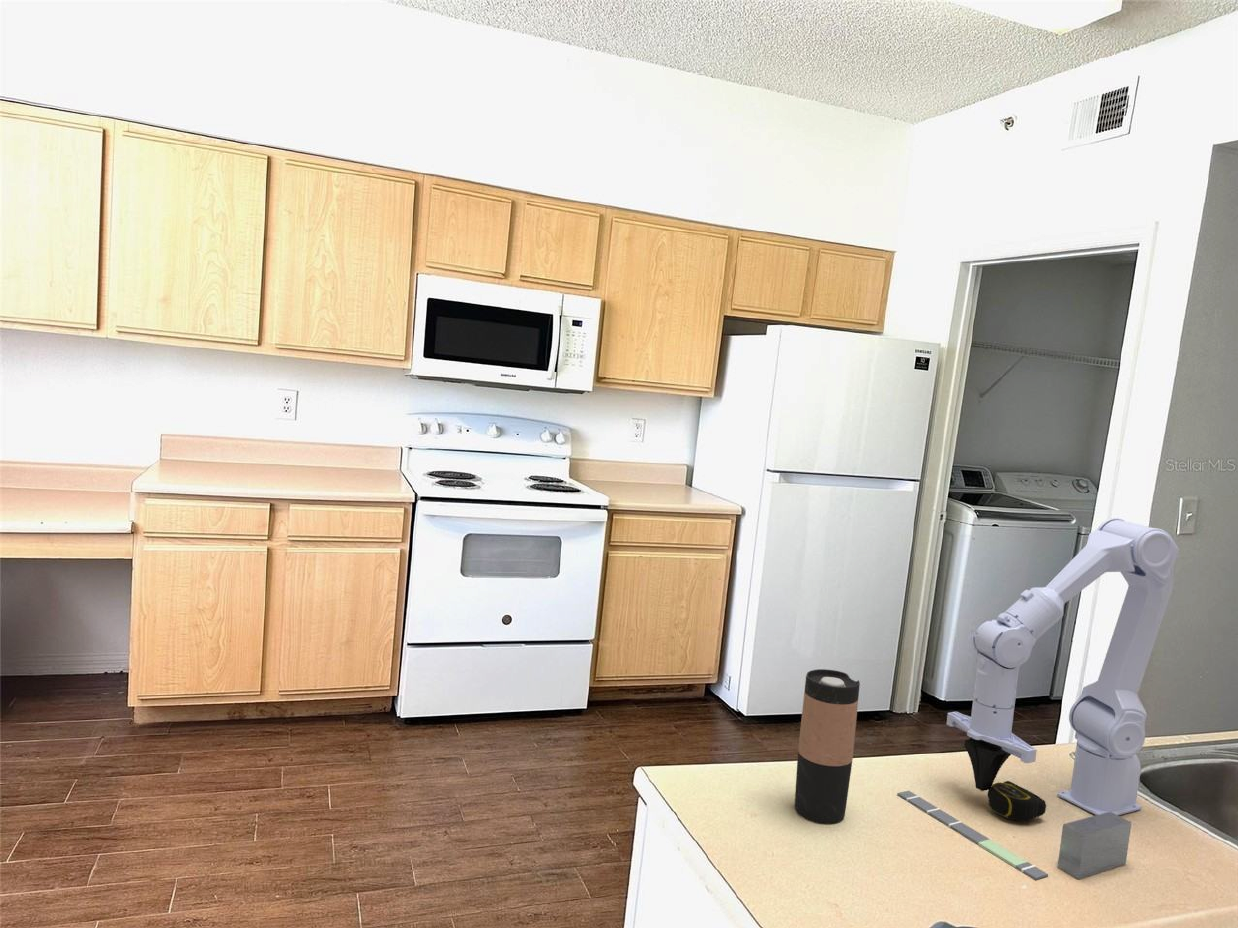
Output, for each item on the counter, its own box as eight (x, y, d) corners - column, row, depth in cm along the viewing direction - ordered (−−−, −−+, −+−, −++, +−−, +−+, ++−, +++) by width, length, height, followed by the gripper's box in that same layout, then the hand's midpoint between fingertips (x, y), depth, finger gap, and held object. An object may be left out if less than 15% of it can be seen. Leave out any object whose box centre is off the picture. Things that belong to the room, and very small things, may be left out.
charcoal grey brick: (1100, 850, 121) (1106, 809, 120) (1125, 864, 118) (1131, 821, 117) (1053, 864, 116) (1059, 822, 116) (1078, 879, 113) (1084, 835, 112)
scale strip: (908, 792, 134) (909, 789, 134) (1048, 876, 113) (1048, 873, 113) (897, 794, 133) (897, 792, 133) (1035, 880, 112) (1035, 877, 112)
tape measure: (1047, 822, 128) (1050, 797, 128) (1014, 829, 125) (1017, 804, 125) (1008, 800, 134) (1011, 777, 134) (976, 807, 131) (979, 783, 131)
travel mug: (787, 816, 124) (801, 680, 122) (797, 794, 131) (810, 665, 129) (842, 830, 121) (857, 691, 119) (849, 806, 128) (863, 675, 126)
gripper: (936, 687, 135) (927, 771, 137) (1017, 723, 122) (1005, 815, 124) (968, 683, 139) (959, 764, 140) (1050, 717, 126) (1038, 807, 127)
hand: (983, 788), depth 132 cm, fingers closed
